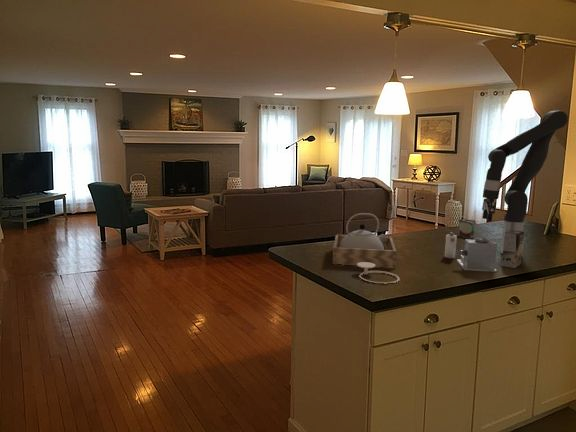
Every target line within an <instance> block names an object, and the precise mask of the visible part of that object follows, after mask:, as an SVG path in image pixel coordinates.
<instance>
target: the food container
mask: <svg viewBox="0 0 576 432" xmlns="http://www.w3.org/2000/svg"><path fill="white" fill-rule="evenodd" d="M477 224H478V223H477V221H476V220H473V219H467V218H465V219H462V218H459V219H458V225H459V227H458V229H459V230H458V233H459V234H458V236H459V237H463V238H466V239H469V240H472V239H474V234H475V229H476V226H477ZM471 238H472V239H471Z"/></svg>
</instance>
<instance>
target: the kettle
mask: <svg viewBox="0 0 576 432" xmlns="http://www.w3.org/2000/svg"><path fill="white" fill-rule="evenodd" d="M362 215H363V216H371V217H373V218H375V220H376V222H377V226H376V230H375V231H374V233H373V232H371V231H369V230H365V228H366V225H365V224H364V223H361V224H360V225H359V229H358V230H354V231H351V232H349V228H348V227H349V223H350V222H351V221H352V219H353V218H355V217H358V216H362ZM379 229H380V220H379V218H378V217H377V216H376V215H375V214H373V213H368V212H367V213H366V212H359V213H356V214H354V215H352V216H351V217H350V218H349V219H348V220H347V222H346V226H345V230H346V231H345V232H346V235H347V236H345V237H344V238H343V240H342V241H341V243H340V245H339V248H356V249H376V250H384V247H383V244H382V242H381V241H382V240H383V239H384V238H385V237H387V235H386V234H384V233H381V234H380V235H378V236H377V233H378V231H379Z"/></svg>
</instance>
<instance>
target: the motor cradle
mask: <svg viewBox="0 0 576 432" xmlns="http://www.w3.org/2000/svg"><path fill="white" fill-rule="evenodd" d="M464 241H465V242H464V249H456V253H455V256H461V257H460V258H461V259H460V258H459V259H456V262H457V263H458V264H459V265H460V266H461V268H462V269H463V270H464V271H471V272H472V271H476V272H492V273H494V272H495V273H498V270H497V269H496V268H495V267H496V260H497V251H498V250H497V247H498V244H497V243H496V242H495V241H494V240H490V239H489V240H488V239H487V238H482V237H475V238H474V239H468V238H466V239H464Z"/></svg>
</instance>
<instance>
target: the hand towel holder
mask: <svg viewBox="0 0 576 432" xmlns="http://www.w3.org/2000/svg"><path fill="white" fill-rule="evenodd" d="M357 265H358V266H357V267H359V268H362V269H363V271H362V272H361V273H359V275H358V278H359V277H360V278H361V279H363V280H365V281H369V282H374V283H384V284H387V283H395V284H397V283H399V282H400V281H401V279H400V277H399V276H398V274H395V273H392V272H389V271H383V270H369V269H373V268H376V267H375V266H376V265H375V264H373V263H370V262H359V263H357ZM368 273H369V274H381V273H385V274H384V275H388V274H389V276H391V275H392V276H391V277H394V276H395V277H394V278H396V279H395V280H393V281H387V282H386V281H373V280H369V279H366V278H364V277H362V276H364V275H368ZM363 274H364V275H363ZM361 275H362V276H361ZM360 278H359V279H360ZM361 279H360V280H361ZM398 281H399V282H398ZM396 282H397V283H396Z"/></svg>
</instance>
